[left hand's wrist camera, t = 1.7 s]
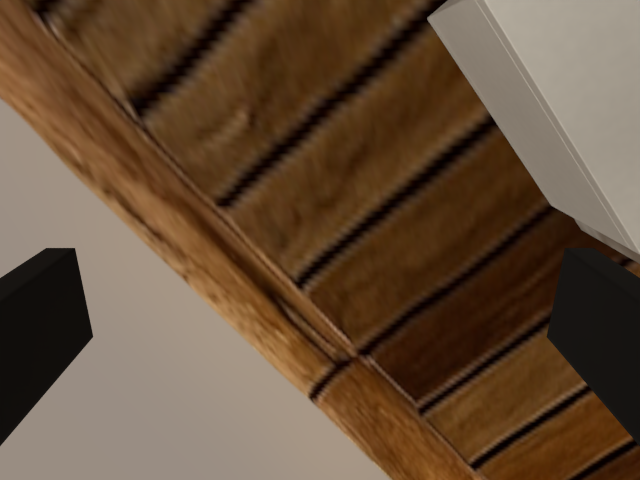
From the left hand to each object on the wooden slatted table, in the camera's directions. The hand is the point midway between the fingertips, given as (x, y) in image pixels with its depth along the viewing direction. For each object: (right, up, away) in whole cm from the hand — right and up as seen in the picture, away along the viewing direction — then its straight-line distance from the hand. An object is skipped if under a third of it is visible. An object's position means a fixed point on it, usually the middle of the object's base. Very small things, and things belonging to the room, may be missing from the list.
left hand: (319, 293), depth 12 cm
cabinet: (+16, +13, +19) cm, 28 cm away
